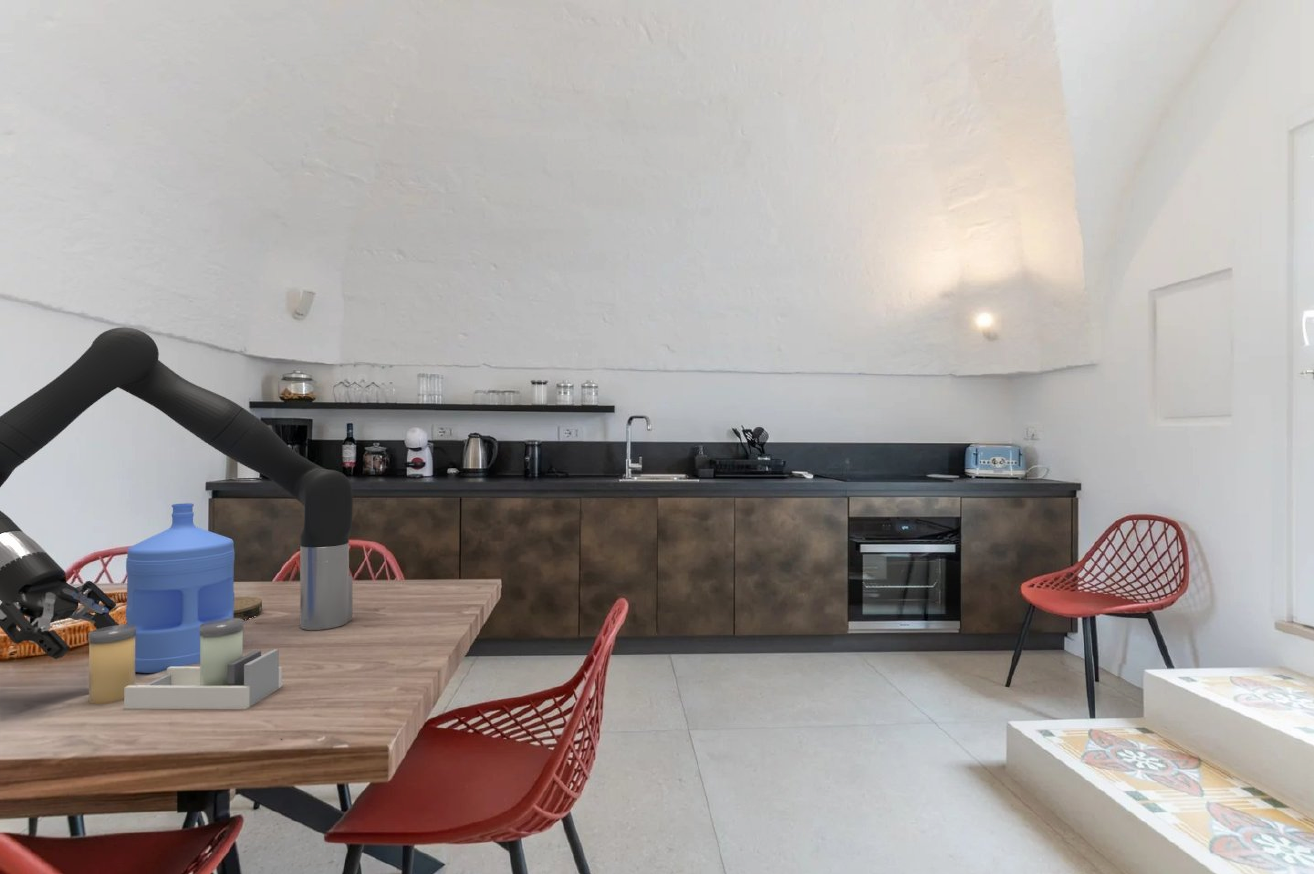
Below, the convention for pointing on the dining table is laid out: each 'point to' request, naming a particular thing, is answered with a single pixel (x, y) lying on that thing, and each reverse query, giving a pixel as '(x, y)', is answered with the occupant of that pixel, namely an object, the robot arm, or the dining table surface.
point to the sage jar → (219, 649)
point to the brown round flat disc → (246, 607)
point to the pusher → (239, 669)
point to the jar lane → (207, 688)
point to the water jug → (177, 591)
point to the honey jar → (111, 662)
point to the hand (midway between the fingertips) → (91, 644)
